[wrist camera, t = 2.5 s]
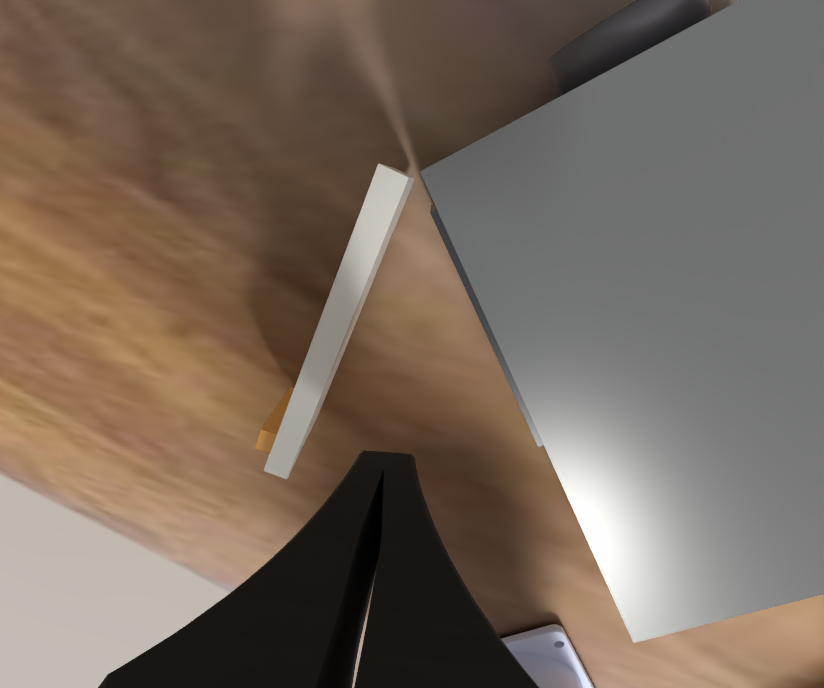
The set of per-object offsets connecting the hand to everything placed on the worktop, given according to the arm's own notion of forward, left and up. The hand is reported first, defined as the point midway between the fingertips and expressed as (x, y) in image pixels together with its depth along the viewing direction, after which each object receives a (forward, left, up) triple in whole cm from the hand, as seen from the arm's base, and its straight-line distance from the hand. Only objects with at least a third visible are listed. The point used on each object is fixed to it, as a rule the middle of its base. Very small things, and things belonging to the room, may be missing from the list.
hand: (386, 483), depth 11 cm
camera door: (+4, 0, -6) cm, 7 cm away
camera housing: (-3, -9, -7) cm, 11 cm away
